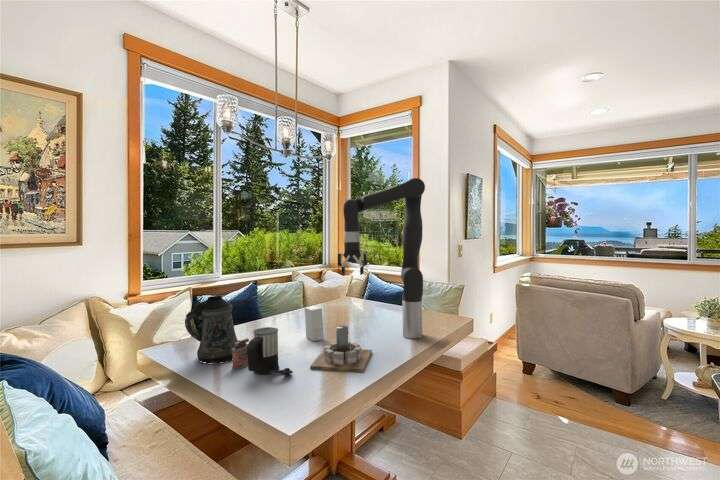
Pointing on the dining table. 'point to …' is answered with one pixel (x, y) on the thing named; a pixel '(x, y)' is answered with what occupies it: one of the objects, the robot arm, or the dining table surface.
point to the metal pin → (342, 339)
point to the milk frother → (265, 352)
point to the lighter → (240, 354)
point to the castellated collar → (342, 358)
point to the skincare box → (314, 323)
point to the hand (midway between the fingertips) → (352, 274)
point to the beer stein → (213, 330)
